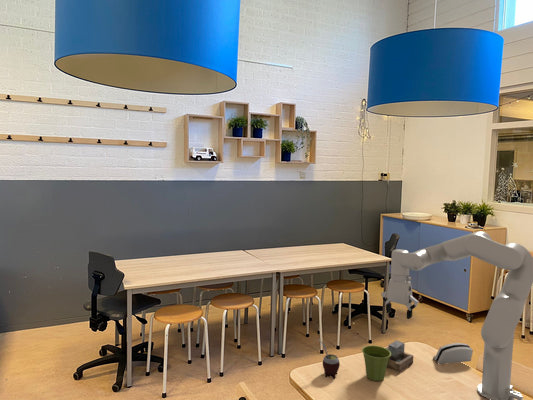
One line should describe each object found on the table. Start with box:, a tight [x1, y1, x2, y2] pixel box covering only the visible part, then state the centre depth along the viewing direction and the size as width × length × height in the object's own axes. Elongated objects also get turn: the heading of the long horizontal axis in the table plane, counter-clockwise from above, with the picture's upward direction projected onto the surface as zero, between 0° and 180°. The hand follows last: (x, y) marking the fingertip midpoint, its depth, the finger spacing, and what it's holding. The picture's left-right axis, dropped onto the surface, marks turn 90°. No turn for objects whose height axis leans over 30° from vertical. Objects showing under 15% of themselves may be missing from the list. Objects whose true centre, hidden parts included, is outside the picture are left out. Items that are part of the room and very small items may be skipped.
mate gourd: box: [317, 339, 341, 380], centre depth 169 cm, size 8×8×15 cm
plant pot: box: [361, 345, 391, 382], centre depth 168 cm, size 12×12×11 cm
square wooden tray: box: [385, 345, 414, 373], centre depth 181 cm, size 12×12×4 cm
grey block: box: [388, 339, 405, 363], centre depth 181 cm, size 6×7×8 cm
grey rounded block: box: [432, 342, 474, 365], centre depth 183 cm, size 17×5×10 cm, turn 102°
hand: (398, 315), depth 179 cm, fingers open, 9 cm apart
